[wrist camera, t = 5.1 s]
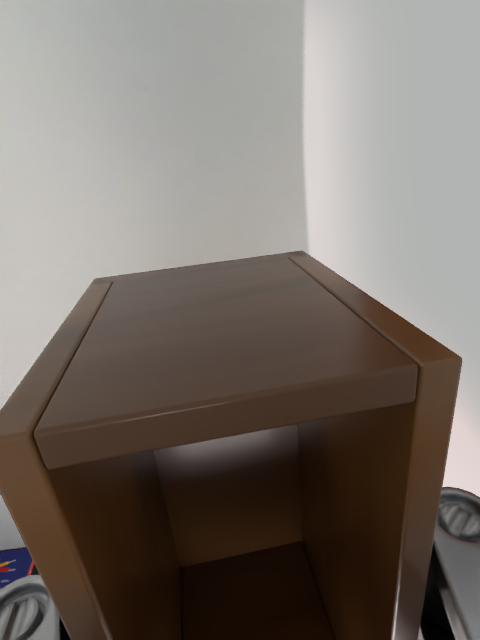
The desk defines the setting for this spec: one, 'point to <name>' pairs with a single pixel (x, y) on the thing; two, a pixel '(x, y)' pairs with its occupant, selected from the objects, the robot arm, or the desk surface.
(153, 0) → the desk surface
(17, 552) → the toy box
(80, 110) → the desk surface
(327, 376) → the wooden cubby shelf
